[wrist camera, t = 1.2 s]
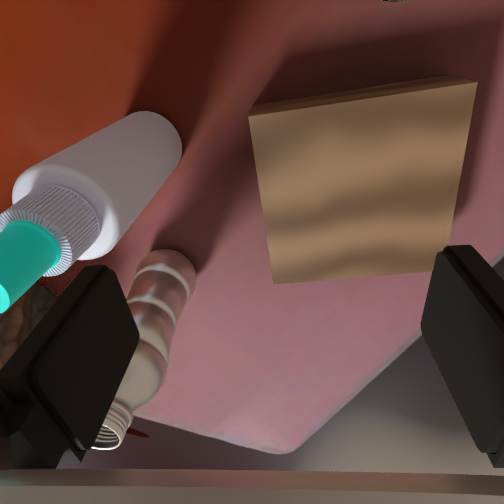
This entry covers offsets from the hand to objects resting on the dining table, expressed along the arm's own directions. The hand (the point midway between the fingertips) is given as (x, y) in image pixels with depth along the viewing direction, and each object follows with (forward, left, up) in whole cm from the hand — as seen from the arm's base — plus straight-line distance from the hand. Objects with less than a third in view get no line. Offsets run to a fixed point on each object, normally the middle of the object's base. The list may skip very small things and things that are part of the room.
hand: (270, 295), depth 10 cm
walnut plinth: (+6, +6, -24) cm, 25 cm away
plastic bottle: (+14, -14, -24) cm, 31 cm away
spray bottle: (0, -12, -24) cm, 27 cm away
